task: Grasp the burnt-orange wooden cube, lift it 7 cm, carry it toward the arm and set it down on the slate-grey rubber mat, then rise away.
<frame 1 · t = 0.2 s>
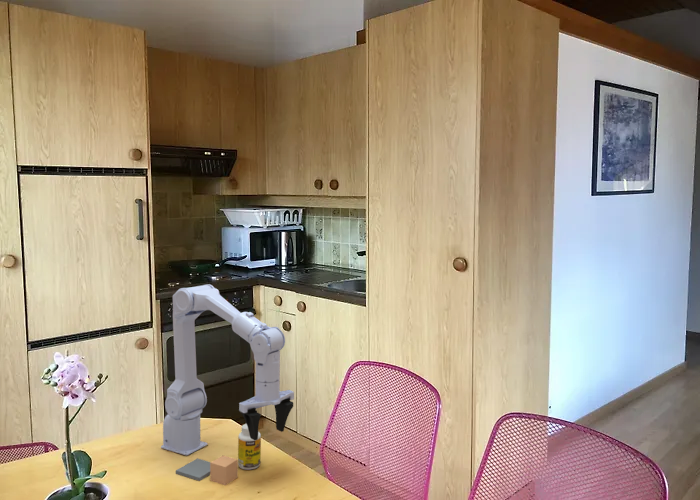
hand: (267, 434, 138), 10 cm above the table, tool pointing down, fingers open, 7 cm apart
mat: (198, 470, 140), on the table
block: (224, 479, 137), on the table
supplement bottle: (249, 466, 144), on the table
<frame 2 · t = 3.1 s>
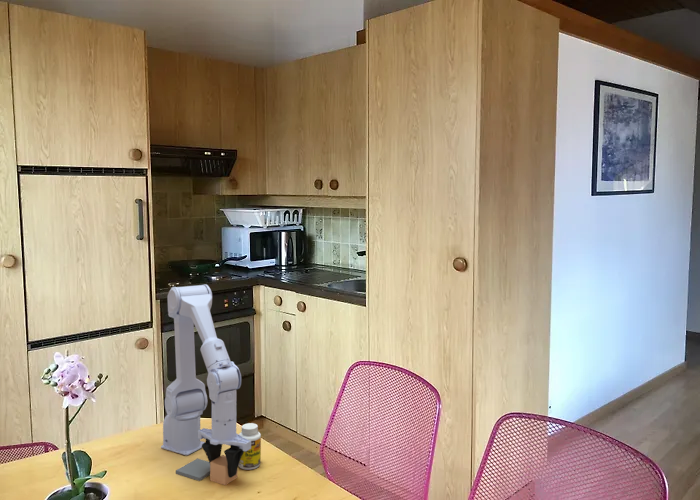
hand: (224, 473, 136), 1 cm above the table, tool pointing down, fingers closed on block, 4 cm apart
block: (224, 478, 137), on the table, touching gripper
everything else where it was.
when the fingers open (3 cm above the table, at t = 6.9 s): block stays where it is, resting on mat.
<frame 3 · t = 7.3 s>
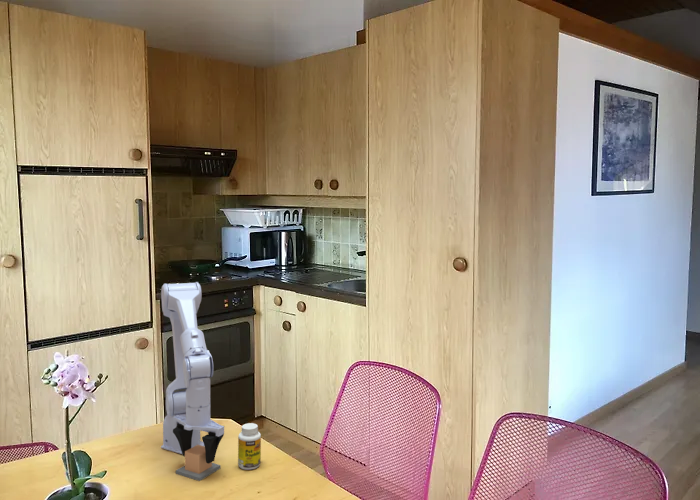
hand: (198, 458, 140), 3 cm above the table, tool pointing down, fingers open, 7 cm apart
block: (198, 467, 140), point 1 cm above the table, touching mat
everything else where it was.
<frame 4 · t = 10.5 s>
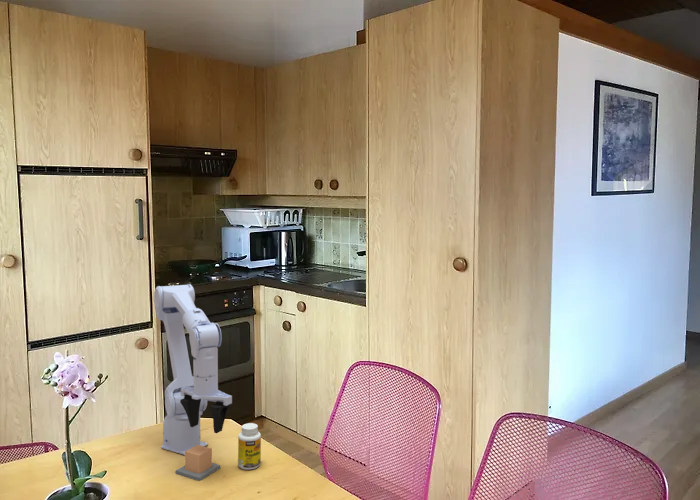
hand: (206, 428, 140), 10 cm above the table, tool pointing down, fingers open, 7 cm apart
nothing on the table moved.
at the end: block 0.1 cm off-centre on the mat, point 0.8 cm above the mat's base; block tilted 0°; the gripper is holding nothing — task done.
